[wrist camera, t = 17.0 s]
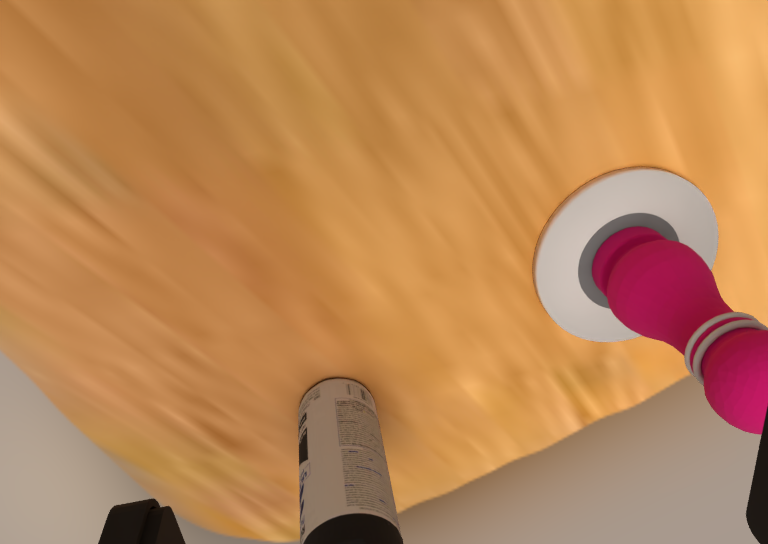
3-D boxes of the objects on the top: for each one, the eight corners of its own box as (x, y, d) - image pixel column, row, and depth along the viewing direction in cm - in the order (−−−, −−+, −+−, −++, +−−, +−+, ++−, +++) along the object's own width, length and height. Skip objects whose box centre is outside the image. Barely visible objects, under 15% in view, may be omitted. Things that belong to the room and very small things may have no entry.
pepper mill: (659, 301, 51) (851, 480, 33) (576, 302, 50) (729, 487, 32) (683, 220, 48) (909, 370, 30) (595, 219, 47) (775, 373, 29)
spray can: (288, 386, 52) (285, 603, 34) (366, 366, 52) (404, 572, 34) (310, 445, 55) (317, 673, 37) (383, 425, 55) (426, 643, 37)
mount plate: (531, 183, 47) (537, 188, 45) (720, 152, 48) (731, 157, 46) (533, 348, 53) (539, 357, 52) (698, 318, 54) (708, 326, 53)
